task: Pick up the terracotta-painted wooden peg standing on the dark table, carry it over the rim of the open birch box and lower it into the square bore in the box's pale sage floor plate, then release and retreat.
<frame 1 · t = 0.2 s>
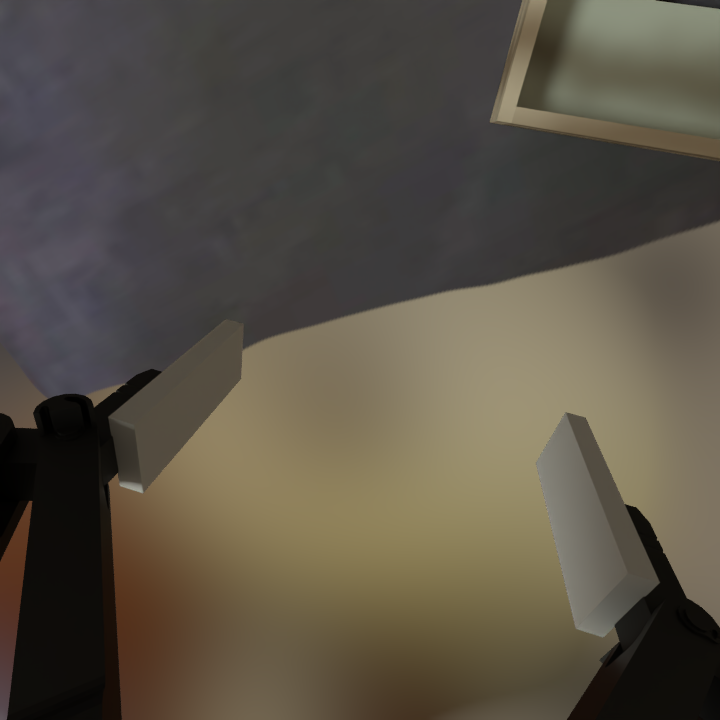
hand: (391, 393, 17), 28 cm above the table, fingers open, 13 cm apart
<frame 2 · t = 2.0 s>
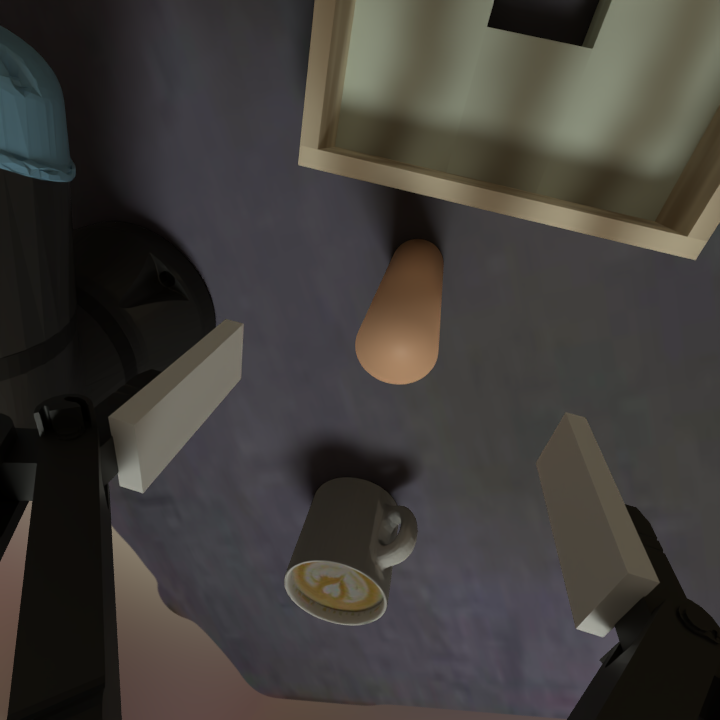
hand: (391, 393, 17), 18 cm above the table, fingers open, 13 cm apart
peg: (417, 265, 32), on the table
coffee mug: (369, 505, 46), on the table
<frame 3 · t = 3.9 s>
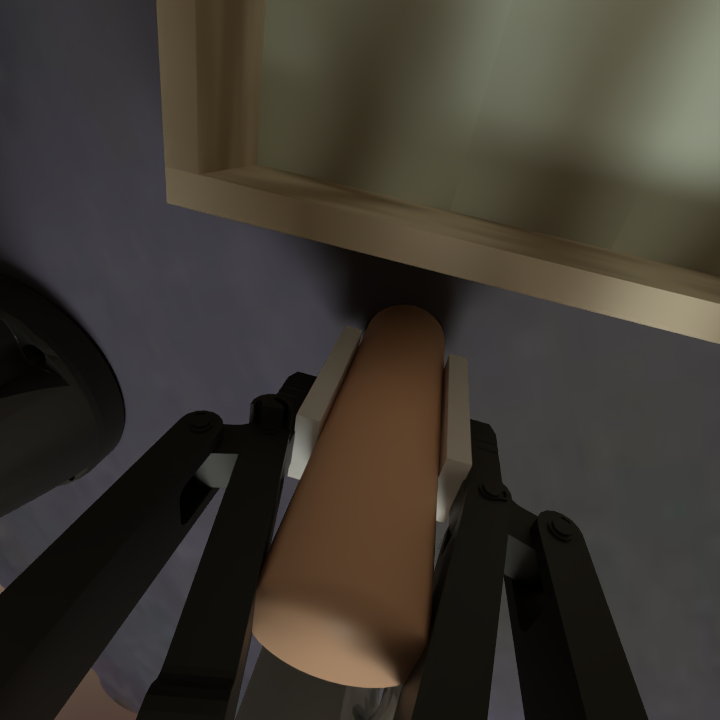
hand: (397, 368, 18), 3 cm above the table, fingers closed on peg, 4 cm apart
peg: (404, 341, 21), on the table, touching gripper
coffee mug: (347, 626, 35), on the table
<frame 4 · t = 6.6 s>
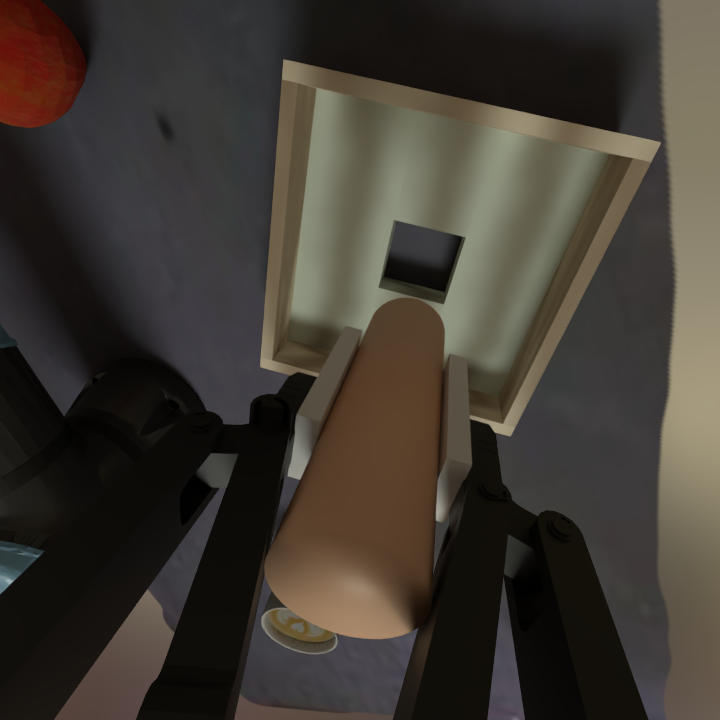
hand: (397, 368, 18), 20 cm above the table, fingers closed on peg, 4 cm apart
peg: (406, 333, 21), point 16 cm above the table, touching gripper
apple: (78, 65, 33), on the table
box: (422, 253, 35), on the table
coffee mug: (331, 556, 58), on the table
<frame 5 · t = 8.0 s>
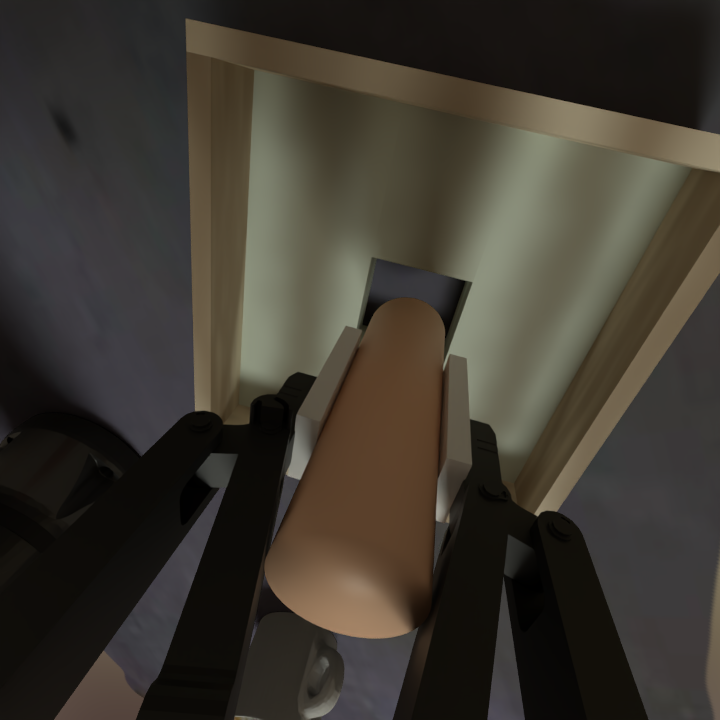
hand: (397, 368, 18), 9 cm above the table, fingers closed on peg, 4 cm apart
peg: (406, 333, 22), point 5 cm above the table, touching gripper
box: (413, 297, 26), on the table
coffee mug: (310, 633, 50), on the table
when the fingers open (4 cm above the table, at t = 9.2 s): peg stays where it is, resting in box.
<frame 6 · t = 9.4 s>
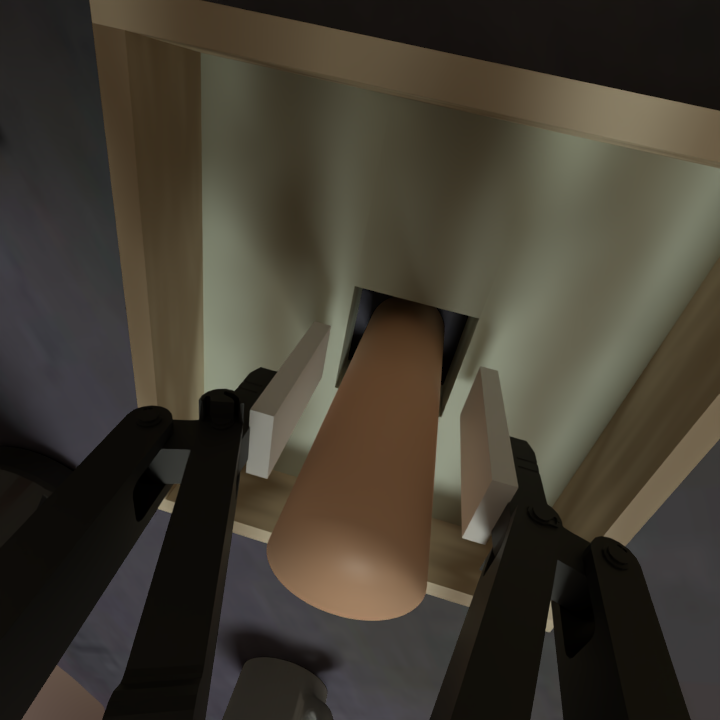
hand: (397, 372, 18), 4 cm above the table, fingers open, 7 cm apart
peg: (406, 330, 22), resting in box
box: (407, 329, 22), on the table
coffee mug: (297, 679, 45), on the table
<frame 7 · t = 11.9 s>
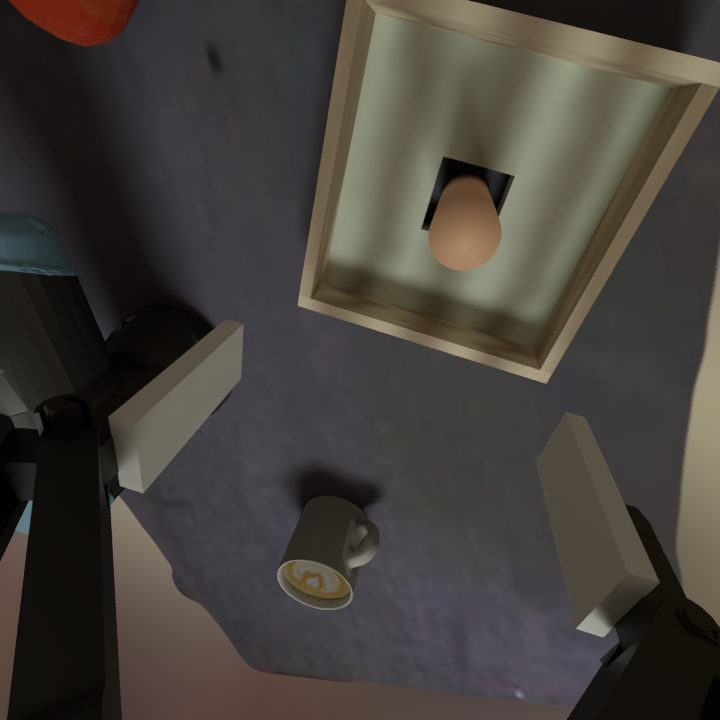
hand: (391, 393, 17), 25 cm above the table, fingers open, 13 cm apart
peg: (464, 198, 35), resting in box
box: (465, 198, 35), on the table
coffee mug: (346, 517, 59), on the table
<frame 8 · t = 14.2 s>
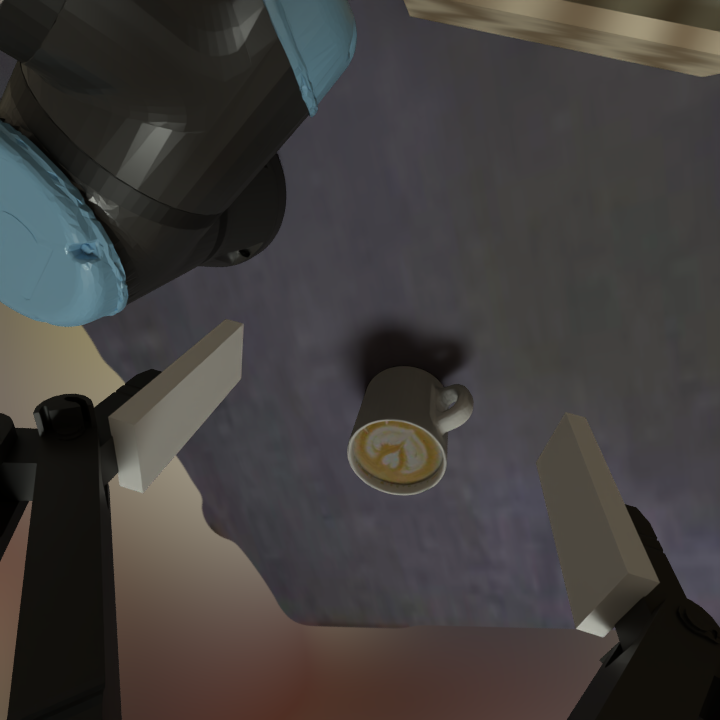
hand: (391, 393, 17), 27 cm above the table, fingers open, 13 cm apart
coffee mug: (419, 397, 49), on the table
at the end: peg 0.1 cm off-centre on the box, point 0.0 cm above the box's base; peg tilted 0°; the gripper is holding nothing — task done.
